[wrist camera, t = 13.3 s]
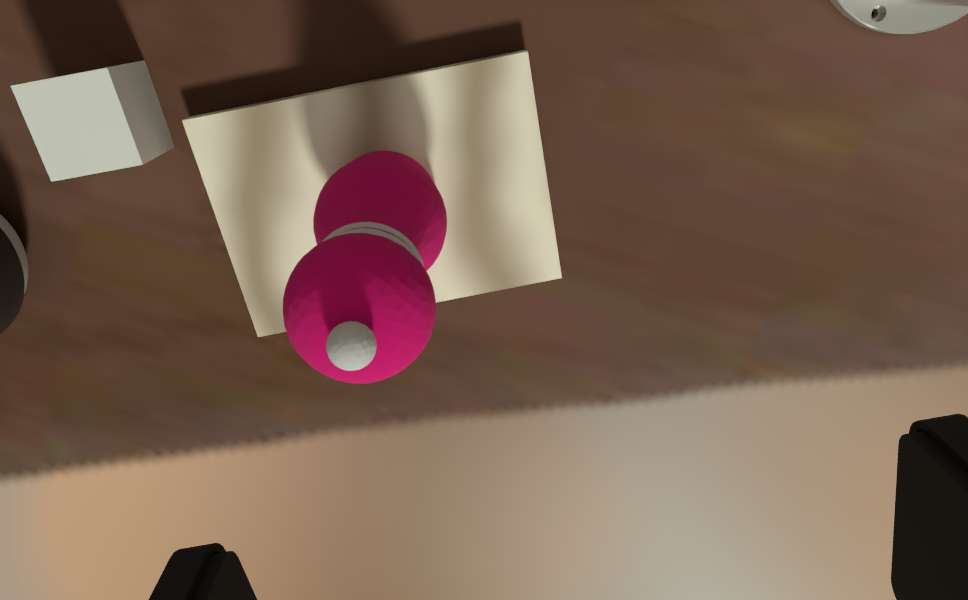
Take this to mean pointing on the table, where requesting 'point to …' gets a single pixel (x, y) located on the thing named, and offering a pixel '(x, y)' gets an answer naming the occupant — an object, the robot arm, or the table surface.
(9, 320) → the dark grey egg shape
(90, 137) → the grey block
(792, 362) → the table surface
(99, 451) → the table surface
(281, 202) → the ash board
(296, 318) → the pepper mill
